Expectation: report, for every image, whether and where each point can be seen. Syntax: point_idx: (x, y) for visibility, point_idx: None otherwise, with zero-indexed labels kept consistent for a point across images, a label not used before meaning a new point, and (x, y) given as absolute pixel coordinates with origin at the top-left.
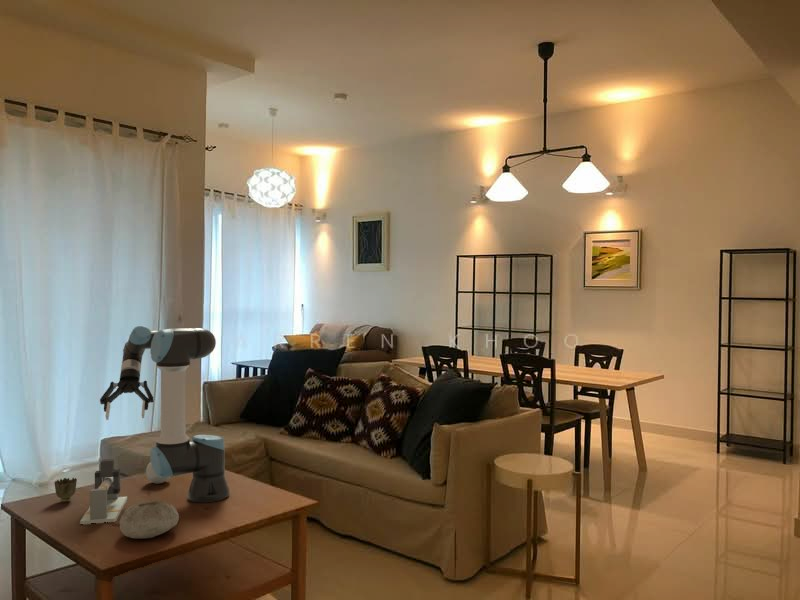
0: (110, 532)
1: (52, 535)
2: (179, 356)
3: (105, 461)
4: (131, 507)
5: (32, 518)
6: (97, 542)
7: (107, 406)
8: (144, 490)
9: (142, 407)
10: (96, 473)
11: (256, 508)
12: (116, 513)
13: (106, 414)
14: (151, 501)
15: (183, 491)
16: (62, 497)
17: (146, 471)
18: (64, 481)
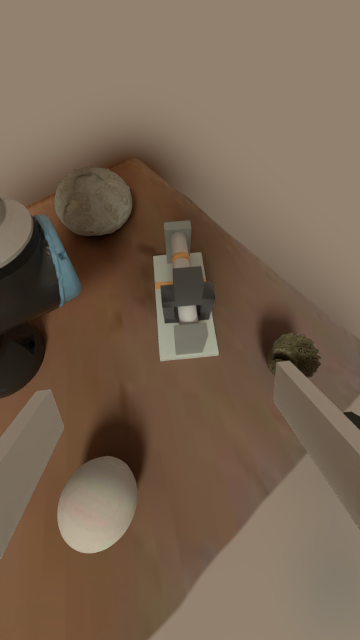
0: (150, 228)
1: (221, 227)
2: None
3: (189, 267)
4: (111, 179)
5: (285, 287)
6: (158, 204)
7: (344, 422)
8: (137, 423)
9: (13, 439)
10: (207, 281)
11: None
12: (156, 274)
13: (290, 368)
14: (85, 197)
15: None
16: (280, 348)
17: (132, 478)
18: (306, 375)
